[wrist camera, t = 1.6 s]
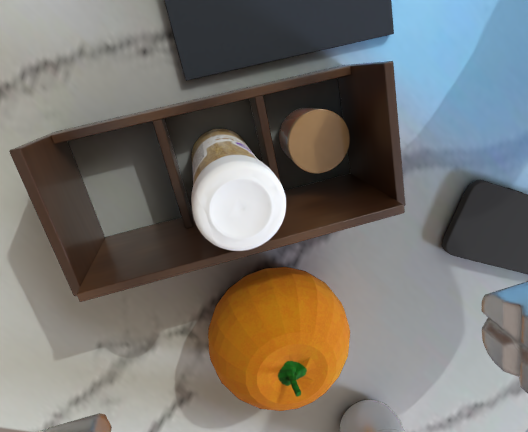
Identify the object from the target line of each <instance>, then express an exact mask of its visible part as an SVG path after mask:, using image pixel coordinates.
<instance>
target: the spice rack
mask: <svg viewBox="0 0 528 432" xmlns="http://www.w3.org/2000/svg"><path fill="white" fill-rule="evenodd" d="M335 78H338V85H339V92H340V100H341V107H342V115H343V120H344V122H345V123H346V125H347V127H348V130H349V136H350V142H349V148H348V151H347V152H348V159H349V167H350V173H349V174H346V175H342V176H338V177H334V178H330V179H326V180H323V181H319V182H315V183H311V184H307V185H303V186H300V187H296V188H292V189H288V190H284V192H285V196H286V212H285V216H284V219H283V222H282V224H281V226H280V228H279V229H278V231H277V232H276V233H275V235H274V236H273V237H272V238H270V239H269V240H268V241H267V242H265V243H264V244H262V245H260V246H258V247H256V248H253V249H250V250H244V251H232V250H226V249H223V248H220V247H218V246H216V245H214V244H212V243H211V242H210V241H208V240H207V239H206V238H205V237H204V236H203V235H202V234H201V232H200V231H199V229H198V227H197V226H196V223H195V221H194V217H193V214H192V210H191V207H190V204H189V200H188V197H187V193H186V190H185V187H184V183H183V180H182V176H181V173H180V170H179V166H178V163H177V160H176V156H175V153H174V149H173V146H172V143H171V139H170V136H169V132H168V129H167V126H166V122H165V119H164V118H168V117H173V116H177V115H181V114H185V113H190V112H194V111H198V110H202V109H207V108H211V107H215V106H220V105H224V104H228V103H232V102H237V101H241V100H245V99H249V100H250V105H251V110H252V114H253V119H254V124H255V128H256V133H257V138H258V142H259V147H260V152H261V156H262V161H263V163H264V164H265V165H266V166H268V167H269V168H270V169H271V171H272V172H273V173H274V174H275V175H276V177H277V178H278V179H279V181H280V177H279V172H278V167H277V163H276V158H275V153H274V148H273V143H272V138H271V133H270V128H269V123H268V118H267V113H266V108H265V103H264V98H263V96H262V95H266V94H271V93H275V92H279V91H284V90H288V89H292V88H296V87H301V86H305V85H309V84H313V83H318V82H322V81H326V80H330V79H335ZM151 121H153V125H154V128H155V131H156V135H157V138H158V141H159V144H160V148H161V151H162V154H163V157H164V161H165V164H166V167H167V171H168V174H169V177H170V180H171V184H172V187H173V190H174V193H175V197H176V200H177V203H178V206H179V210H180V213H181V216H182V217H181V218H177V219H173V220H169V221H165V222H161V223H158V224H154V225H150V226H146V227H142V228H138V229H135V230H131V231H127V232H123V233H119V234H115V235H112V236H108V237H105V236H104V234H103V231H102V229H101V226H100V223H99V221H98V218H97V216H96V213H95V211H94V208H93V205H92V203H91V200H90V198H89V195H88V193H87V190H86V188H85V185H84V182H83V180H82V177H81V175H80V172H79V170H78V167H77V164H76V162H75V159H74V157H73V154H72V152H71V149H70V147H69V144H68V141H70V140H74V139H79V138H83V137H87V136H92V135H96V134H100V133H104V132H109V131H113V130H117V129H121V128H126V127H130V126H134V125H138V124H143V123H147V122H151ZM9 152H10V154H11V156H12V159H13V161H14V163H15V165H16V167H17V170H18V172H19V174H20V176H21V179H22V181H23V183H24V185H25V188H26V190H27V192H28V194H29V197H30V199H31V201H32V203H33V205H34V208H35V210H36V212H37V214H38V217H39V219H40V221H41V223H42V226H43V228H44V230H45V232H46V234H47V237H48V239H49V241H50V243H51V246H52V248H53V250H54V252H55V255H56V257H57V259H58V261H59V264H60V266H61V268H62V270H63V272H64V275H65V277H66V279H67V281H68V284H69V286H70V288H71V290H72V293H73V295H74V296H78V299H79V301H80V302H82V301H86V300H89V299H93V298H97V297H100V296H104V295H108V294H111V293H115V292H119V291H122V290H126V289H129V288H133V287H137V286H140V285H144V284H148V283H151V282H155V281H159V280H162V279H166V278H169V277H173V276H177V275H180V274H184V273H188V272H191V271H195V270H198V269H202V268H206V267H209V266H213V265H217V264H220V263H224V262H228V261H231V260H235V259H238V258H242V257H246V256H249V255H253V254H257V253H260V252H264V251H268V250H271V249H275V248H278V247H282V246H286V245H289V244H293V243H297V242H300V241H304V240H307V239H311V238H315V237H318V236H322V235H326V234H329V233H333V232H337V231H340V230H344V229H347V228H351V227H355V226H358V225H362V224H366V223H369V222H373V221H376V220H380V219H384V218H387V217H391V216H395V215H398V214H402V213H404V212H405V211H404V206H405V196H404V184H403V172H402V161H401V149H400V137H399V125H398V114H397V102H396V90H395V78H394V67H393V61H388V62H376V63H364V64H352V65H342V66H337V67H333V68H329V69H324V70H320V71H316V72H311V73H307V74H303V75H298V76H294V77H290V78H285V79H281V80H277V81H272V82H268V83H264V84H259V85H255V86H251V87H246V88H242V89H238V90H234V91H229V92H225V93H221V94H216V95H212V96H208V97H203V98H199V99H195V100H190V101H186V102H182V103H177V104H173V105H169V106H164V107H160V108H156V109H151V110H147V111H143V112H138V113H134V114H130V115H125V116H121V117H117V118H112V119H108V120H104V121H100V122H95V123H91V124H87V125H82V126H78V127H74V128H69V129H65V130H61V131H56V132H54V133H51V134H49V135H46V136H44V137H41V138H39V139H36V140H34V141H32V142H29V143H27V144H24V145H22V146H19V147H17V148H15V149H12V150H10V151H9ZM280 183H281V182H280Z"/></svg>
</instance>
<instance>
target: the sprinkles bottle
mask: <svg viewBox="0 0 528 432" xmlns="http://www.w3.org/2000/svg"><path fill="white" fill-rule="evenodd" d="M191 161H192V169H193V190H192V198H191V201H192V212H193V217H194V221H195V223H196V226H197V227H198V229H199V231H200V232H201V234H202V235H203V236H204V237H205V238H206V239H207V240H208V241H210V242H211V243H212V244H214V245H216V246H218V247H220V248H223V249H226V250H232V251H244V250H250V249H253V248H256V247H258V246H260V245H262V244H264V243H265V242H267V241H268V240H269V239H270V238H272V237H273V236H274V235H275V233H276V232H277V231H278V229H279V228H280V226H281V224H282V222H283V219H284V216H285V212H286V196H285V192H284V189H283V187H282V185H281V183H280V181H279V179H278V178H277V177H276V175H275V174H274V173H273V172H272V171H271V169H270V168H269V167H268V166H266V165H265V164H264V163H263V162H261V161H259V160H258V159H257V158H256V156H255V155H254V154H253V153H252V151H251V150H250V149H249V148H248V146H247V145H246V143H245V142H244V140H243V139H242V138H241V137H240V136H239V135H238V134H236V133H235V132H233V131H230V130H227V129H213V130H210V131H208V132H206V133H204V134H203V135H201V136H200V137H199V139H198V140H197V141H196V142H195V144H194V146H193V150H192V154H191Z"/></svg>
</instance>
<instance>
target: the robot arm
mask: <svg viewBox="0 0 528 432" xmlns="http://www.w3.org/2000/svg"><path fill="white" fill-rule="evenodd" d="M482 312H483V313H484V314H485V315H486V316H487V317H488V319H487V321H486V322H485V324H484V326H483V327H482V339H483V343H484V346H485V348H486V350H487V353H488V354H489V356H490V357H491V359H492V360H493V361H494V363H495V364H496V365H498V366H499V367H500V368H501V369H502V370H503V371H504V372H507V373H510V374H513V375H516V376H518V377H519V381H520V386H521V388H523V389H524V390H525V391H526V392H527V393H528V281H527V282H524V283H521V284H518V285H515V286H511V287H508V288H505V289H502V290H499V291H496V292H492V293H489V294H486V295H485V296H484V298H483V300H482ZM111 428H112V427H111V425H110V423H109V421H108V419H107V417H106V415H104V414H100V413H99V414H96V415H92V416H89V417H85V418H82V419H78V420H74V421H71V422H67V423H64V424H60V425H57V426H53V427H50V428H48V429H45V430H41V431H37V432H111Z"/></svg>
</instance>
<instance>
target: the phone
mask: <svg viewBox="0 0 528 432" xmlns="http://www.w3.org/2000/svg"><path fill="white" fill-rule="evenodd" d="M442 247H443V249H444V250H445V251H446V252H447V253H449V254H451V255H453V256H457V257H461V258H464V259H469V260H472V261H476V262H481V263H484V264H488V265H493V266H497V267H501V268H505V269H509V270H513V271H517V272H521V273H525V274H528V195H527V194H523V193H522V192H519V191H516V190H513V189H510V188H505V187H502V186H499V185H496V184H493V183H490V182H486V181H483V180H476V181H473V182H472V183H471V184H470V185H469V186H468V187H467V189H466V191H465V193H464V195H463V197H462V199H461V201H460V203H459V205H458V208H457V210H456V212H455V214H454V216H453V218H452V221H451V223H450V225H449V227H448V229H447V231H446V234H445V236H444V238H443V241H442Z"/></svg>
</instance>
